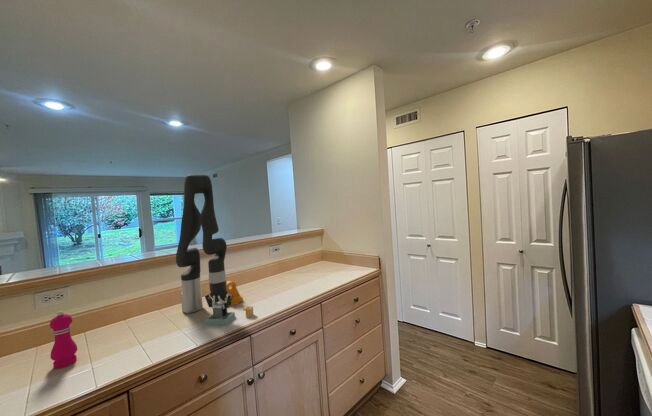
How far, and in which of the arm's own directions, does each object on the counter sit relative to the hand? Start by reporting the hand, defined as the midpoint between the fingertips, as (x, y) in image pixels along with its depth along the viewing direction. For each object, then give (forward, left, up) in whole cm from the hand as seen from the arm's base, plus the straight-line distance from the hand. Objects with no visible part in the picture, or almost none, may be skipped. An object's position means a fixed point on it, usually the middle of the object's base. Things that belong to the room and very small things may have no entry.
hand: (220, 315), depth 129 cm
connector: (0, 0, -1) cm, 1 cm away
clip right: (+12, +6, -3) cm, 14 cm away
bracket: (-7, +22, -3) cm, 23 cm away
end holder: (0, 0, -3) cm, 3 cm away
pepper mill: (-41, -37, -3) cm, 55 cm away
